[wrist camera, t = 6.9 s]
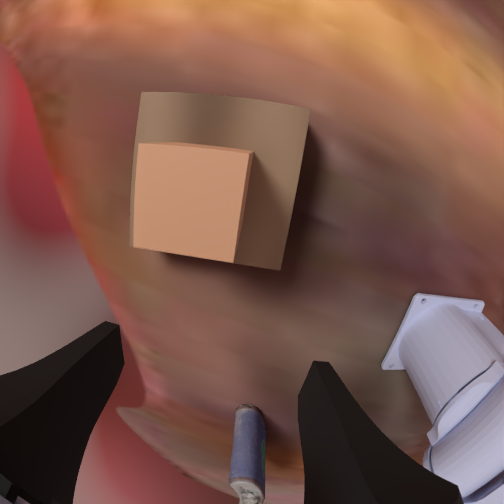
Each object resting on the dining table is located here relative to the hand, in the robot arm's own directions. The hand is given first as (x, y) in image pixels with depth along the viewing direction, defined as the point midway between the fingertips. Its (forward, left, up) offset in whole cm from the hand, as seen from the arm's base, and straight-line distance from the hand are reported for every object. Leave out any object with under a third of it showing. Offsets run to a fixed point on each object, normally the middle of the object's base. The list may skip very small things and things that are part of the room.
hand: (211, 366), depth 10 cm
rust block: (+2, -5, -7) cm, 9 cm away
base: (+2, -5, -10) cm, 12 cm away
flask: (-4, +20, -11) cm, 23 cm away
